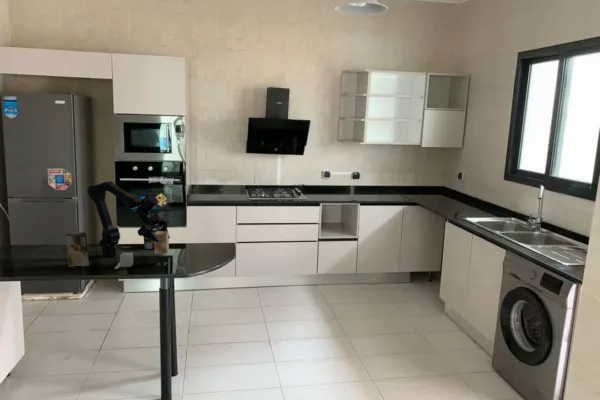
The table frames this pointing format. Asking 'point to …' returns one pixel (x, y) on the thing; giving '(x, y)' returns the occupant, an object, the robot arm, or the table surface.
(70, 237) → the coffee box
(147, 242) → the chalk box
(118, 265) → the plain tile
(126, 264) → the grey block
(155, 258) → the table surface
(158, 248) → the oak block
